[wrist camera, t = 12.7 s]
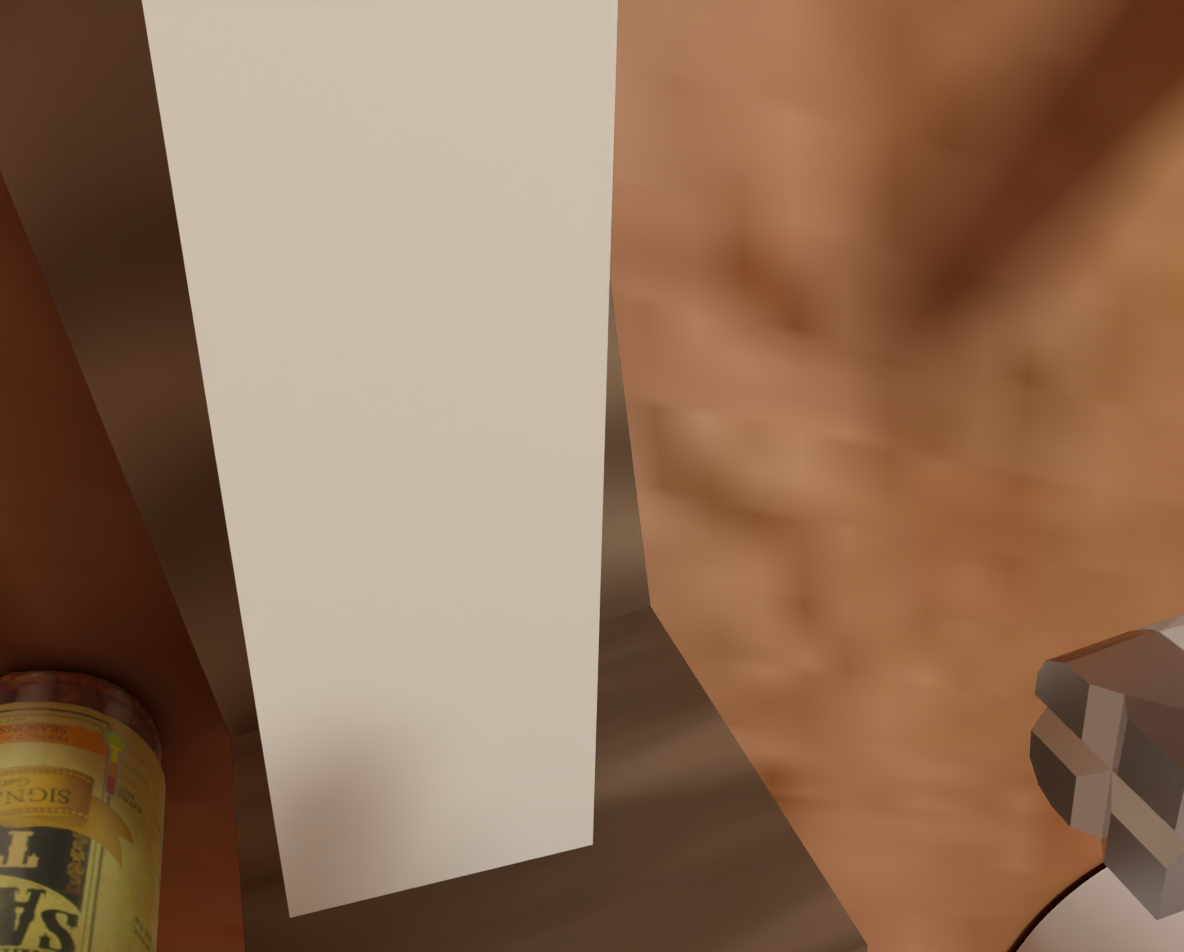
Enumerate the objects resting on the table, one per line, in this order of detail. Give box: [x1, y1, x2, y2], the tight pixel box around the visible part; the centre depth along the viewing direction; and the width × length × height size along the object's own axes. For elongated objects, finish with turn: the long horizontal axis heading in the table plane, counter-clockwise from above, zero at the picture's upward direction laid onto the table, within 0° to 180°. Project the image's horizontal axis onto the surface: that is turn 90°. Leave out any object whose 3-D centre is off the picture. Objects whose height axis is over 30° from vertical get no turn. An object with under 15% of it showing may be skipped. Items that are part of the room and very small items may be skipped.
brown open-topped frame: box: [0, 0, 867, 952], centre depth 20 cm, size 27×12×14 cm, turn 8°
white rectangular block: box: [142, 0, 618, 918], centre depth 18 cm, size 20×6×4 cm, turn 179°
